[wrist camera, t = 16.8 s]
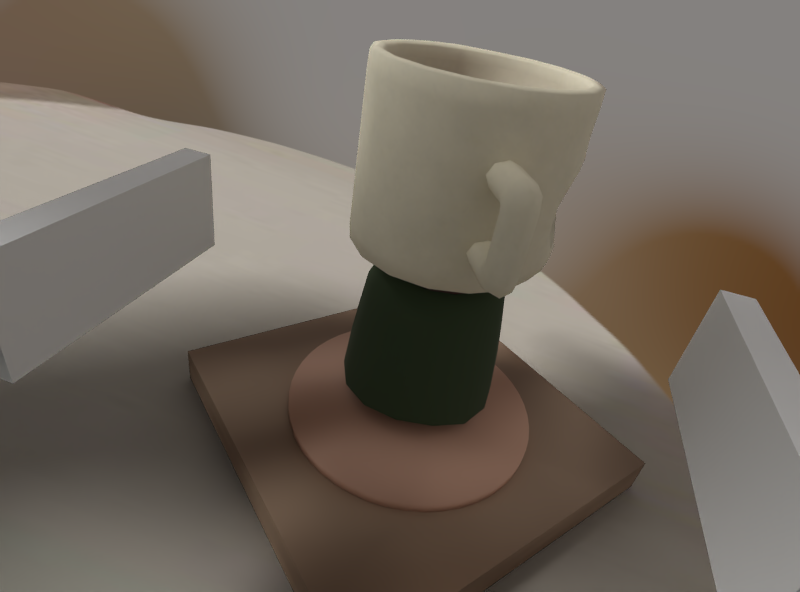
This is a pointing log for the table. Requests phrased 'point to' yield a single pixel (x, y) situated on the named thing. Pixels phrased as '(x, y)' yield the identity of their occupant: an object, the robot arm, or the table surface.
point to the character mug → (454, 214)
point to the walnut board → (400, 467)
